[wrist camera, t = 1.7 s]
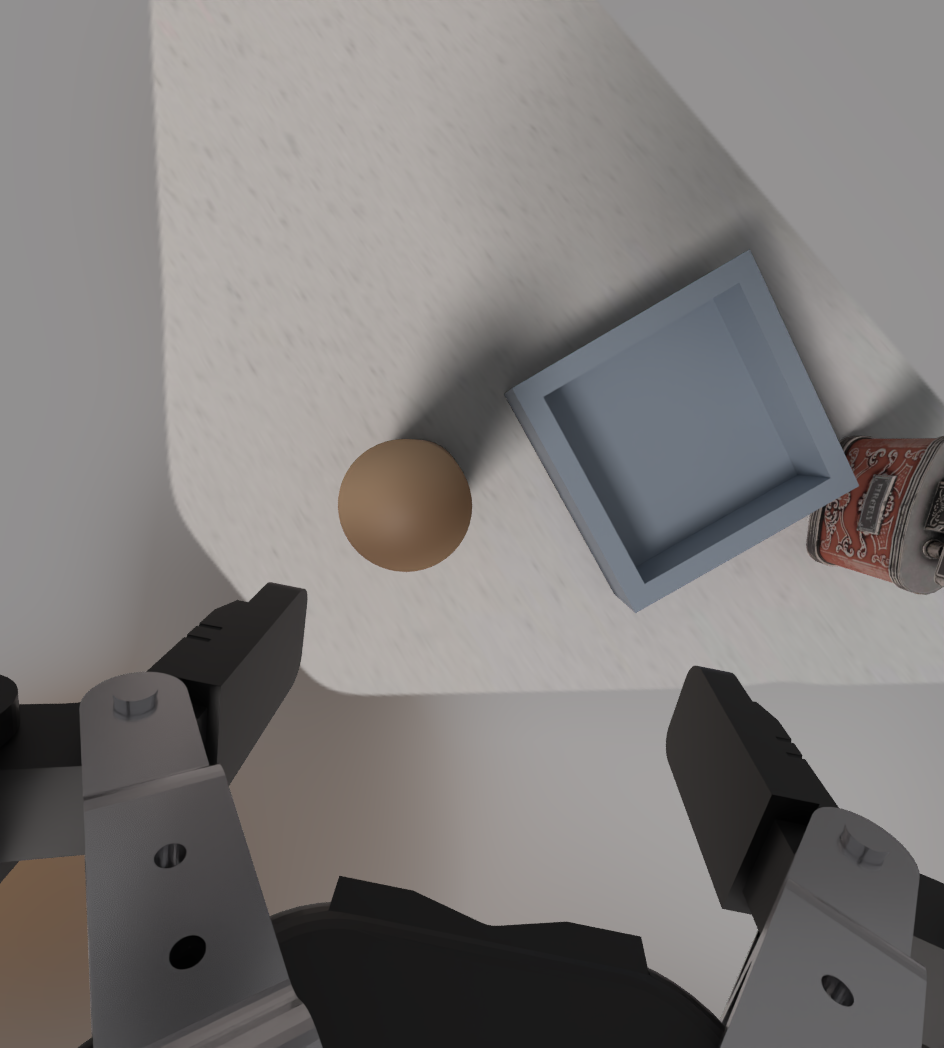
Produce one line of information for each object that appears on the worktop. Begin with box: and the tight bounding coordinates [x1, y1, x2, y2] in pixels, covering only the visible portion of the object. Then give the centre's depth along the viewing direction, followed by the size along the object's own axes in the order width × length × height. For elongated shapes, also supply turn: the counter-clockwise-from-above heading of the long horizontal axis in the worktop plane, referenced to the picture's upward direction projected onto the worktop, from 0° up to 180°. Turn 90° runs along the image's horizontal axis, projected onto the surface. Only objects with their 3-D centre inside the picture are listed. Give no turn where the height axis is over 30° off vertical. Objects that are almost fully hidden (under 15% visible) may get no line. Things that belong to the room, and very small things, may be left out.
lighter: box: [806, 436, 944, 595], centre depth 31 cm, size 8×3×10 cm, turn 167°
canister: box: [338, 439, 472, 572], centre depth 29 cm, size 5×5×12 cm
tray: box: [504, 249, 859, 613], centre depth 33 cm, size 14×14×4 cm
